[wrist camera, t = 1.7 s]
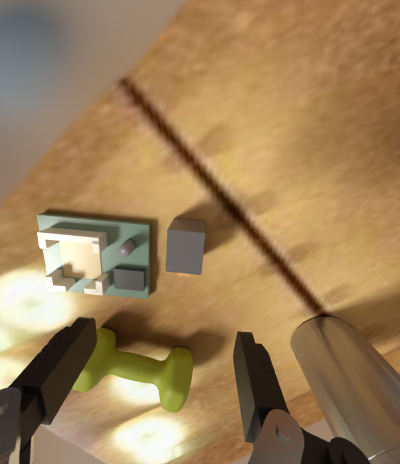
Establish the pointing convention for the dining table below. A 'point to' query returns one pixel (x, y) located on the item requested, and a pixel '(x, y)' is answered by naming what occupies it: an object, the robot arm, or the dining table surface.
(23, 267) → the dining table surface
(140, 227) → the board
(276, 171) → the dining table surface
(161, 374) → the dumbbell
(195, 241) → the plug
